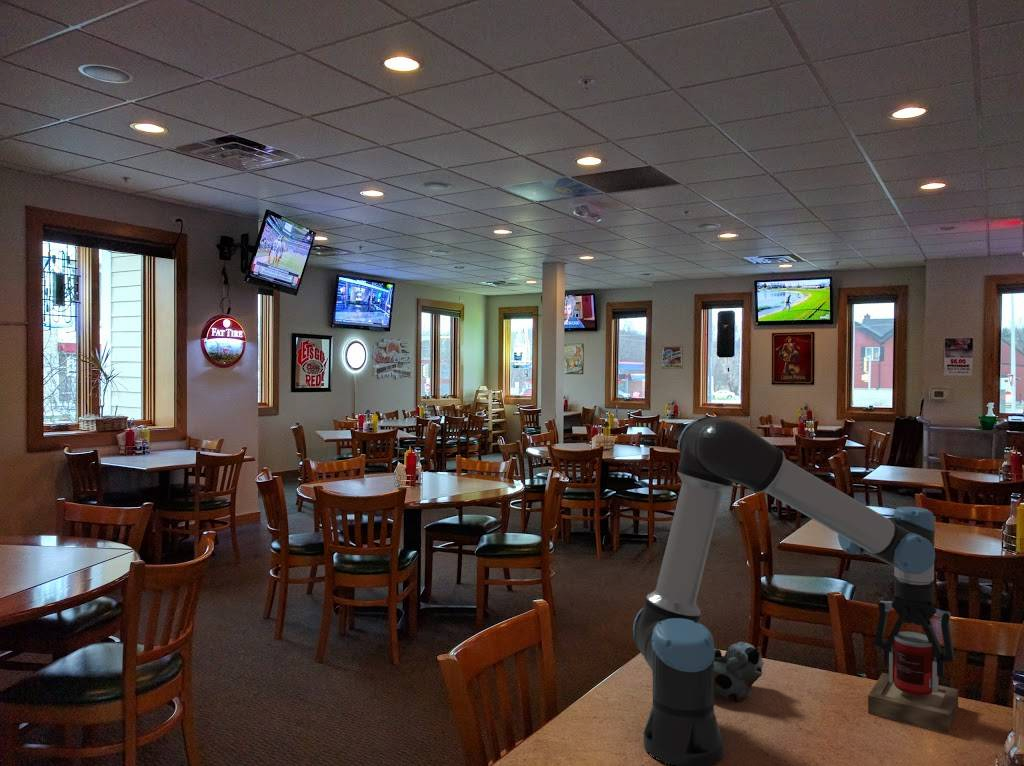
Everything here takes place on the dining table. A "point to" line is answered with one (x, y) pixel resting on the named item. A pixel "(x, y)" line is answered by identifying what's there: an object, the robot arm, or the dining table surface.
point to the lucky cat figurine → (737, 670)
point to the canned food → (913, 663)
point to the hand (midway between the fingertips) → (913, 685)
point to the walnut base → (914, 705)
